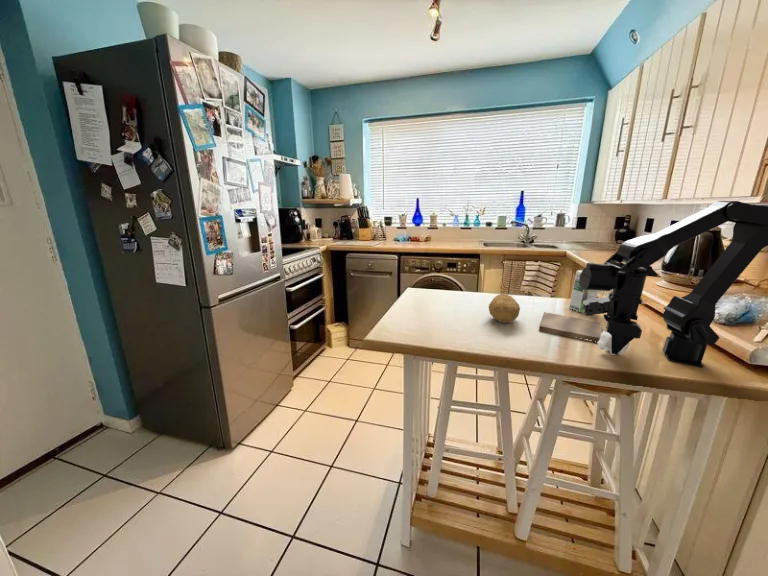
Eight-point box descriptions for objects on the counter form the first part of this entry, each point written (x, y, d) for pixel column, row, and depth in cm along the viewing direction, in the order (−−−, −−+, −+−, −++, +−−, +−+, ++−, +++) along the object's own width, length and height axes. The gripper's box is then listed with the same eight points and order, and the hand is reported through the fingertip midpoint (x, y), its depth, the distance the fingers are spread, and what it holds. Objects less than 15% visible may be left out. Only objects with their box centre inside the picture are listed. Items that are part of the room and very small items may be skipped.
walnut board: (599, 326, 97) (600, 322, 97) (601, 343, 86) (602, 338, 85) (543, 316, 105) (544, 312, 105) (538, 330, 94) (539, 325, 93)
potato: (487, 326, 96) (489, 302, 94) (487, 311, 109) (489, 290, 106) (520, 331, 93) (524, 306, 91) (517, 315, 106) (520, 293, 103)
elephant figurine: (588, 346, 84) (592, 326, 82) (617, 346, 84) (622, 326, 82) (605, 358, 77) (610, 337, 76) (637, 359, 77) (643, 338, 76)
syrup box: (568, 308, 113) (575, 270, 109) (580, 307, 114) (588, 269, 110) (581, 314, 107) (589, 274, 103) (594, 312, 109) (603, 273, 105)
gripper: (587, 279, 87) (577, 329, 92) (589, 295, 72) (576, 355, 77) (637, 285, 82) (623, 338, 86) (649, 304, 67) (632, 368, 71)
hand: (612, 348), depth 80 cm, fingers closed on elephant figurine, 6 cm apart
